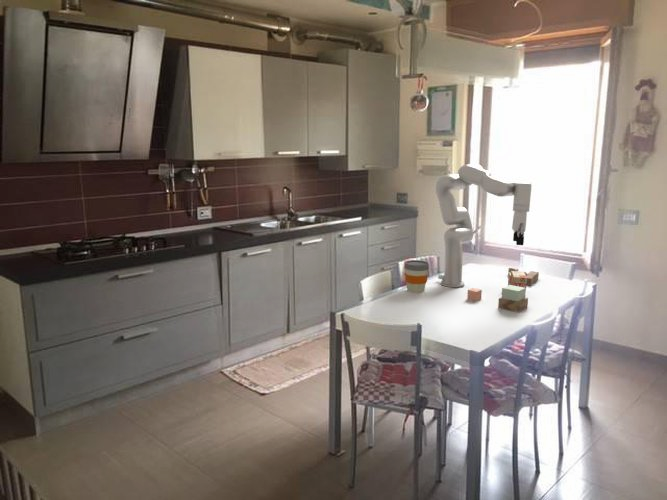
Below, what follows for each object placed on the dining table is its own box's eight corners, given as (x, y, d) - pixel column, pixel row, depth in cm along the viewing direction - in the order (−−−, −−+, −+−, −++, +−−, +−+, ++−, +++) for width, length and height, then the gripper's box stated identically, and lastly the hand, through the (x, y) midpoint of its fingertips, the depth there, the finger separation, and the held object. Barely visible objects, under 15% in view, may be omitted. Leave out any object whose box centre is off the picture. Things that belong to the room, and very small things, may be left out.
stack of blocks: (507, 289, 291) (508, 266, 289) (519, 289, 290) (521, 267, 288) (511, 300, 271) (513, 276, 268) (525, 301, 270) (527, 277, 267)
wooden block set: (539, 270, 311) (532, 276, 296) (538, 279, 313) (531, 286, 298) (509, 266, 320) (500, 272, 305) (508, 275, 321) (500, 282, 306)
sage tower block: (501, 298, 258) (502, 288, 257) (508, 294, 264) (509, 284, 263) (517, 301, 253) (518, 291, 252) (524, 298, 259) (525, 287, 258)
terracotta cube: (467, 299, 272) (467, 289, 271) (472, 297, 276) (472, 287, 275) (476, 301, 269) (477, 291, 268) (481, 299, 272) (481, 289, 271)
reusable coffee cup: (418, 286, 295) (420, 259, 292) (432, 292, 284) (433, 264, 281) (399, 289, 290) (400, 261, 287) (412, 295, 279) (413, 266, 275)
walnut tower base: (498, 308, 259) (498, 298, 258) (507, 303, 266) (508, 294, 265) (518, 313, 252) (519, 302, 251) (527, 308, 260) (528, 298, 259)
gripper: (510, 205, 270) (507, 239, 274) (515, 210, 253) (512, 246, 257) (526, 205, 269) (523, 240, 272) (532, 210, 252) (529, 247, 256)
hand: (518, 243), depth 265 cm, fingers open, 9 cm apart
